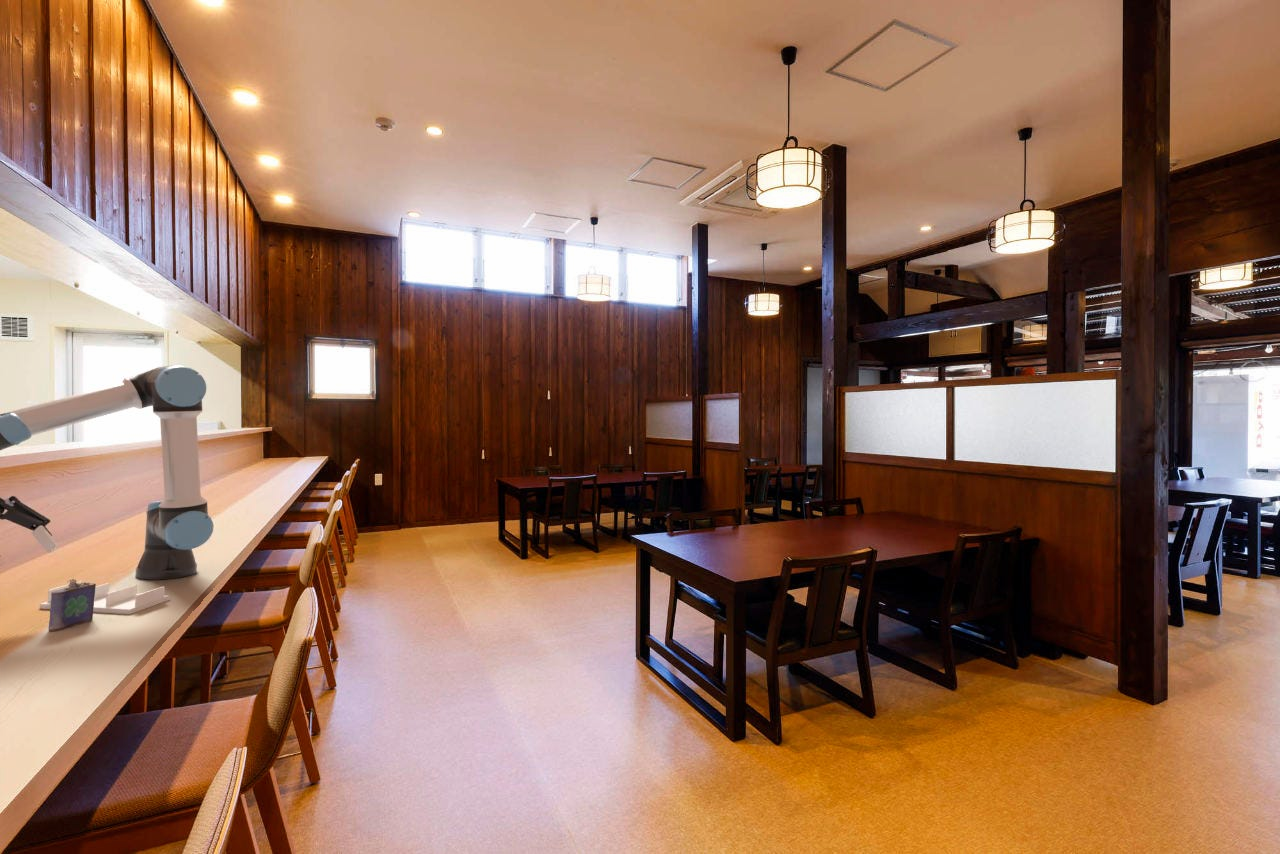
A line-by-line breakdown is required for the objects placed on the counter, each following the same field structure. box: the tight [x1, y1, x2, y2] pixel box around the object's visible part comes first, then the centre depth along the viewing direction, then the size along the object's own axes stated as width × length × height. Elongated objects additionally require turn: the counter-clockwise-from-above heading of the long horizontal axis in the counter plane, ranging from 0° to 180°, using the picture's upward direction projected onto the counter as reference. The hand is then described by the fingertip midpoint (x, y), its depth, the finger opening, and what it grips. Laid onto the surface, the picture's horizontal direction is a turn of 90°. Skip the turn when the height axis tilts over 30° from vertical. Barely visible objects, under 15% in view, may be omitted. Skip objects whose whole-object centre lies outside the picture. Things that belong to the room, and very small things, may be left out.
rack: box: [39, 580, 171, 615], centre depth 159 cm, size 13×23×4 cm, turn 90°
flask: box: [48, 578, 97, 632], centre depth 143 cm, size 9×3×11 cm, turn 172°
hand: (25, 554), depth 143 cm, fingers open, 13 cm apart
